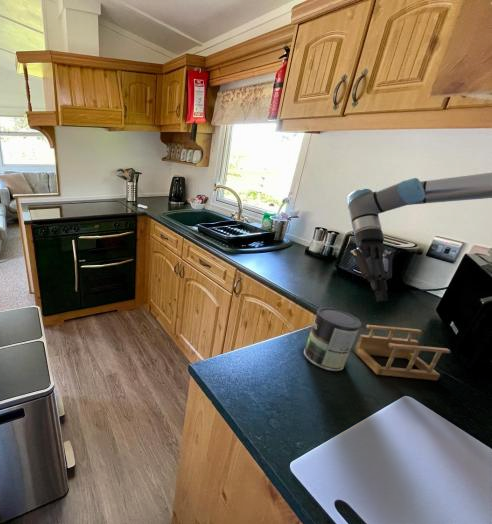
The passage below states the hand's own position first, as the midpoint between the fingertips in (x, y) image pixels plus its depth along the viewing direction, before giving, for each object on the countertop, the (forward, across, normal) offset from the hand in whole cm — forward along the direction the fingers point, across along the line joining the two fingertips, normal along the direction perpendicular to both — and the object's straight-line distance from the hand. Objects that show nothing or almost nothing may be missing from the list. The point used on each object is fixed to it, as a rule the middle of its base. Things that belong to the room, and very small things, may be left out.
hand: (382, 300), depth 89 cm
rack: (+19, +1, 0) cm, 19 cm away
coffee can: (+19, +20, -1) cm, 28 cm away
